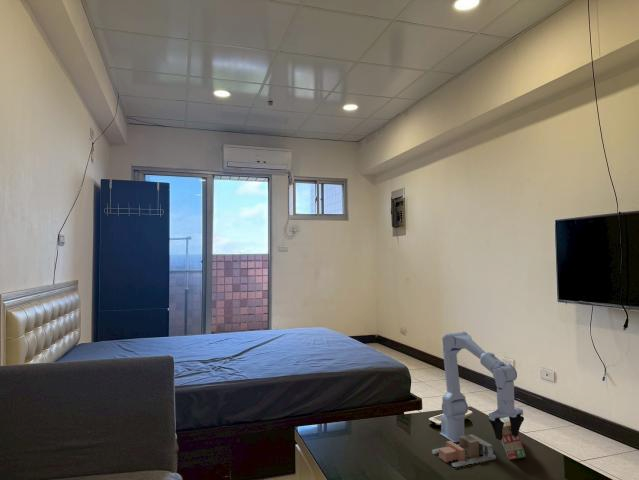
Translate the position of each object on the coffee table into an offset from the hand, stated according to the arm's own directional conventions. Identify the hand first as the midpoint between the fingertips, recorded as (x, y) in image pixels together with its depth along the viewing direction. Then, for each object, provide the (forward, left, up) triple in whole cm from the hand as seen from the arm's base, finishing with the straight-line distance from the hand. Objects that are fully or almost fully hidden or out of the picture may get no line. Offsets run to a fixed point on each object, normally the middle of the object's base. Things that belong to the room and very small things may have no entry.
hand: (506, 437), depth 148 cm
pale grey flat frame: (-12, -10, -10) cm, 18 cm away
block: (-12, -7, -10) cm, 17 cm away
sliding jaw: (-12, -16, -10) cm, 22 cm away
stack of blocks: (-10, +12, -9) cm, 18 cm away
